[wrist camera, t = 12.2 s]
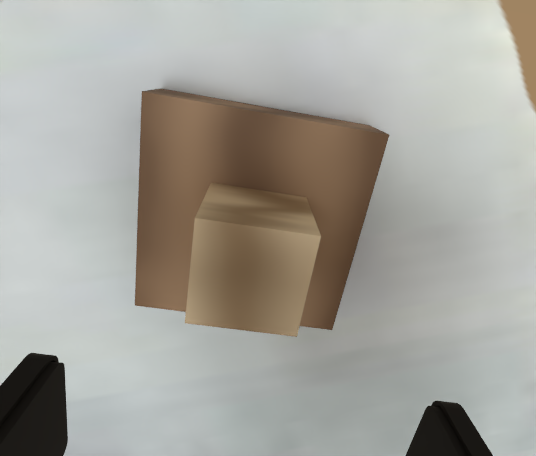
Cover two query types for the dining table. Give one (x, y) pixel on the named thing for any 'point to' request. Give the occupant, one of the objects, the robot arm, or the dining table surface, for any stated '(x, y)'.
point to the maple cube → (251, 260)
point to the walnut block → (248, 186)
